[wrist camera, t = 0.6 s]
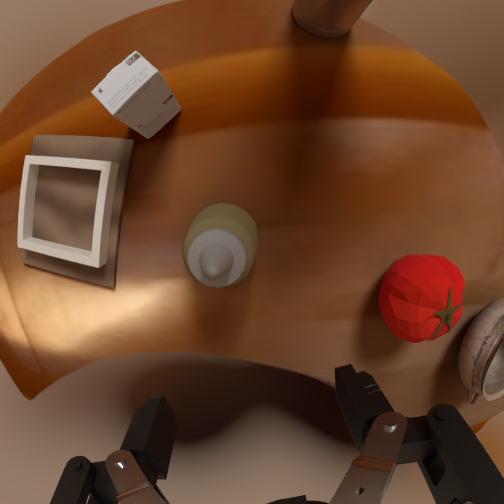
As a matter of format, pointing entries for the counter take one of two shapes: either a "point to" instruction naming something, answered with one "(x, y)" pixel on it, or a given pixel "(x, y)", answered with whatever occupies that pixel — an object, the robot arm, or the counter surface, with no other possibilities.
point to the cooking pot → (484, 354)
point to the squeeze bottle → (220, 245)
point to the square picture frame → (101, 214)
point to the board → (77, 202)
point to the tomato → (421, 297)
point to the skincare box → (137, 95)
